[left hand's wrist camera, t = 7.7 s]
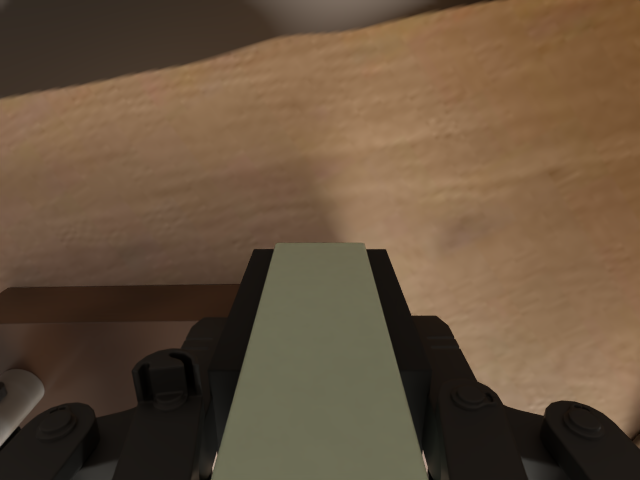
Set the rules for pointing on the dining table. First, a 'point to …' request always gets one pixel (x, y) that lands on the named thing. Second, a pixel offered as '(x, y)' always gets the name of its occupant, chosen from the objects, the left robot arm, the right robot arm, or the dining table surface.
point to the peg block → (91, 342)
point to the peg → (319, 378)
